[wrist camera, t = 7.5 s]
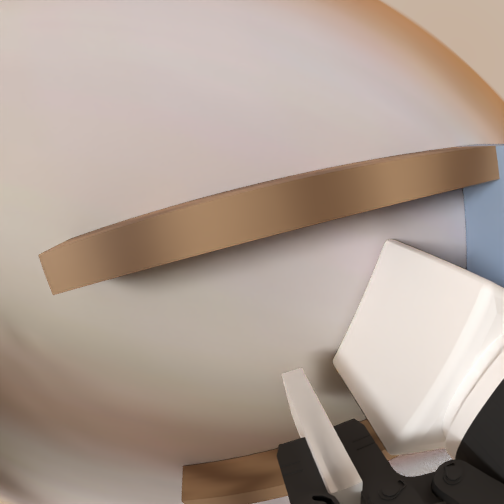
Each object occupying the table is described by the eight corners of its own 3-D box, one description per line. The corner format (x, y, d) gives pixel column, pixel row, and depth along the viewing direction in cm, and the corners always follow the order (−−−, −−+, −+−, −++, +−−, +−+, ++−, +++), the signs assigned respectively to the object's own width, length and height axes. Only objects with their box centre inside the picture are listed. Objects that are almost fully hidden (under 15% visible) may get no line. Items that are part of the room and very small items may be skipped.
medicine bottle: (328, 362, 15) (443, 555, 4) (384, 235, 14) (613, 346, 2) (418, 374, 17) (529, 496, 5) (467, 273, 15) (622, 357, 4)
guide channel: (191, 477, 17) (191, 511, 14) (70, 238, 12) (38, 255, 9) (453, 390, 18) (475, 411, 15) (456, 146, 13) (495, 146, 10)
